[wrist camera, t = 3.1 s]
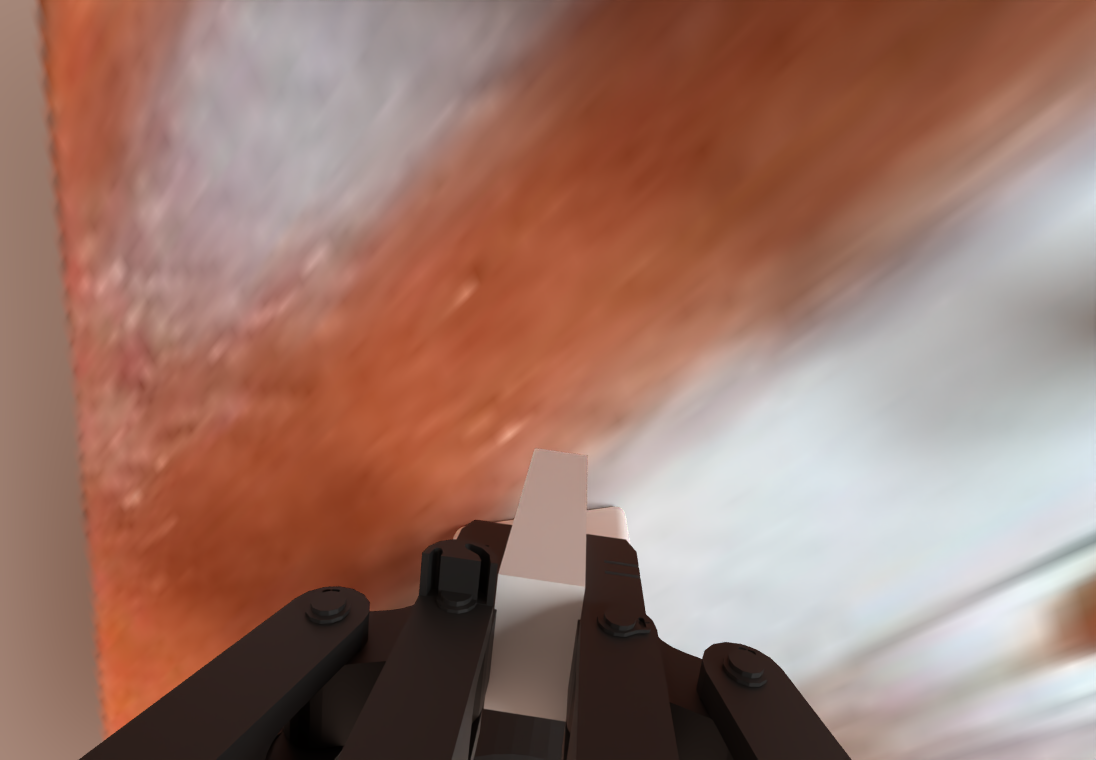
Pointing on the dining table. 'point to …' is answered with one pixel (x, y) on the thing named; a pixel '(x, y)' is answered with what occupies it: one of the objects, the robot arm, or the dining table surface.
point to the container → (526, 741)
